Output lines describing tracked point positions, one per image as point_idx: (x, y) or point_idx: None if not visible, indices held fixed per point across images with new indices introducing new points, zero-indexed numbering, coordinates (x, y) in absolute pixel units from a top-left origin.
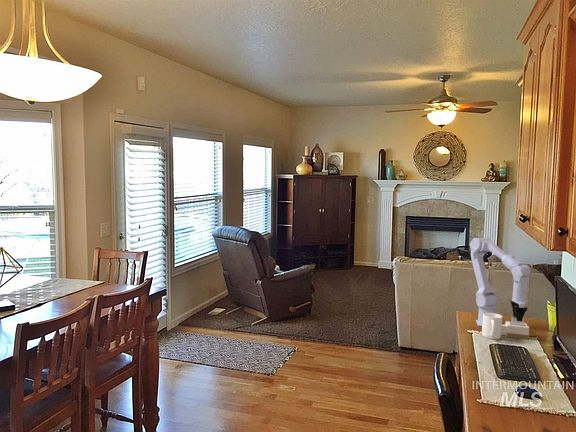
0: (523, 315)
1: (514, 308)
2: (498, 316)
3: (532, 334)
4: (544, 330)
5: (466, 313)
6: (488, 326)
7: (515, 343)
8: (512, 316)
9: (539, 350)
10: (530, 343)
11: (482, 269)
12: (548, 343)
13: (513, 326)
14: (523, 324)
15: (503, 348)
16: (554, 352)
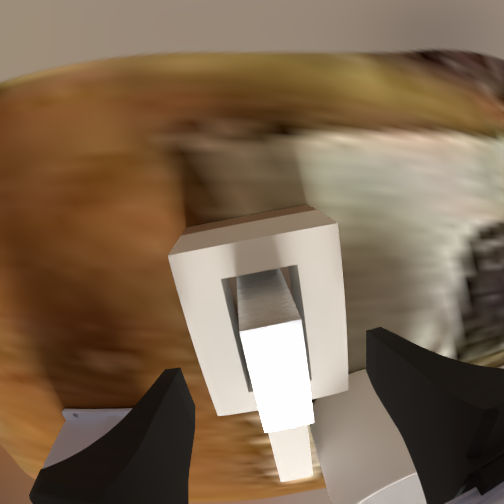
0: (438, 356)
1: (180, 480)
2: (364, 485)
3: (144, 173)
4: (7, 108)
5: (32, 468)
6: None
7: (429, 284)
8: (281, 426)
9: (485, 157)
10: (395, 195)
11: None
12: (328, 68)
13: (345, 355)
14: (286, 286)
15: (499, 325)
16: (475, 80)
